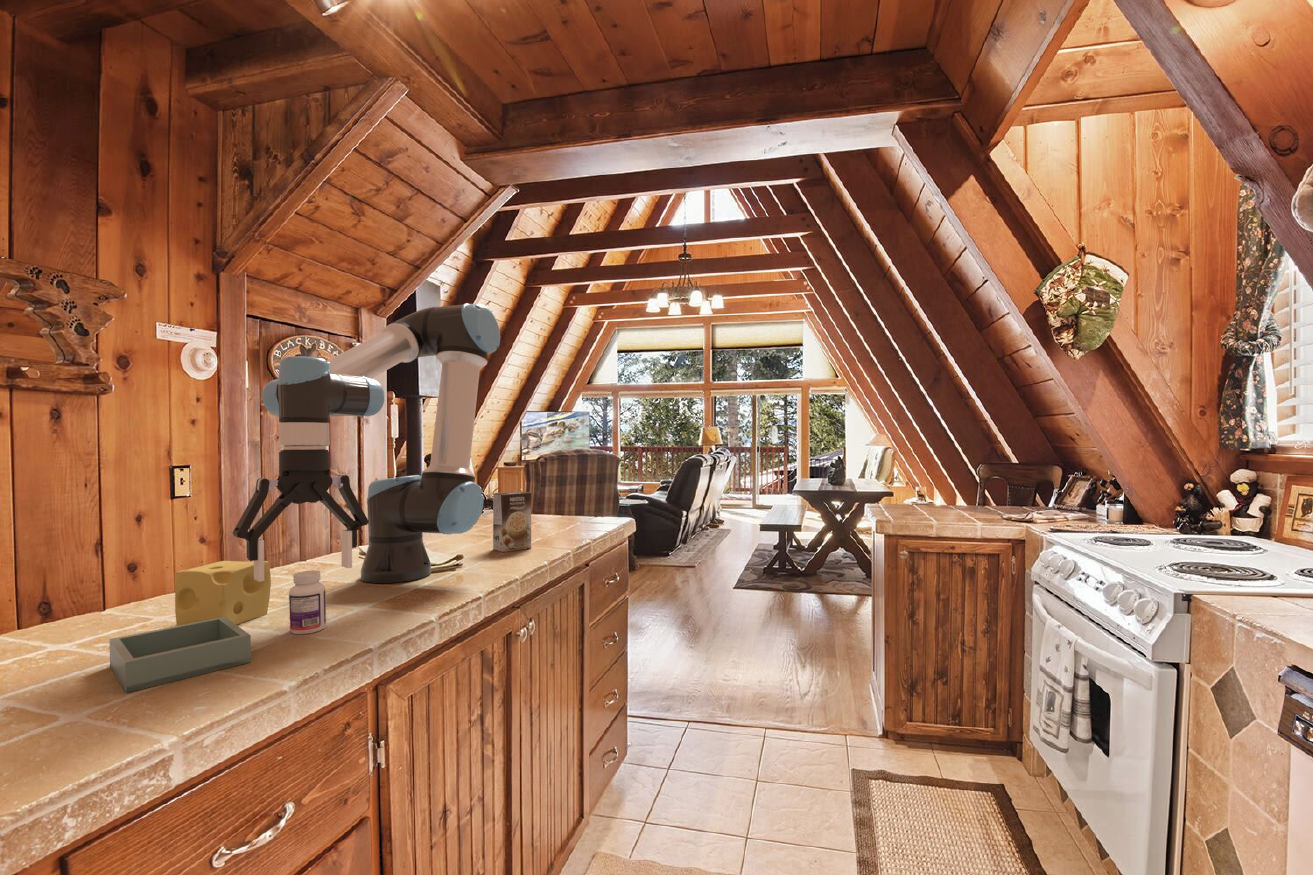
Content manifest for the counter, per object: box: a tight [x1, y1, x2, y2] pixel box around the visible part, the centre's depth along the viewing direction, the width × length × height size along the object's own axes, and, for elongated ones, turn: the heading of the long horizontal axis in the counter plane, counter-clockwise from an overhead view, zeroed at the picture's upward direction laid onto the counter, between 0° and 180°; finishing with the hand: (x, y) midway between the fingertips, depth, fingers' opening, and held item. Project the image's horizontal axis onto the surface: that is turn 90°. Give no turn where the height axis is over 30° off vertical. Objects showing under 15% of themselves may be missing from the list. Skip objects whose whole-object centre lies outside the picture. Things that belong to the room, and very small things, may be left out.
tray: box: [108, 617, 252, 694], centre depth 90 cm, size 14×14×4 cm
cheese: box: [174, 560, 272, 626], centre depth 111 cm, size 10×11×10 cm
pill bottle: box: [288, 570, 327, 635], centre depth 105 cm, size 5×5×10 cm
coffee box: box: [492, 491, 532, 553], centre depth 176 cm, size 9×6×16 cm
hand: (305, 573), depth 105 cm, fingers open, 13 cm apart
